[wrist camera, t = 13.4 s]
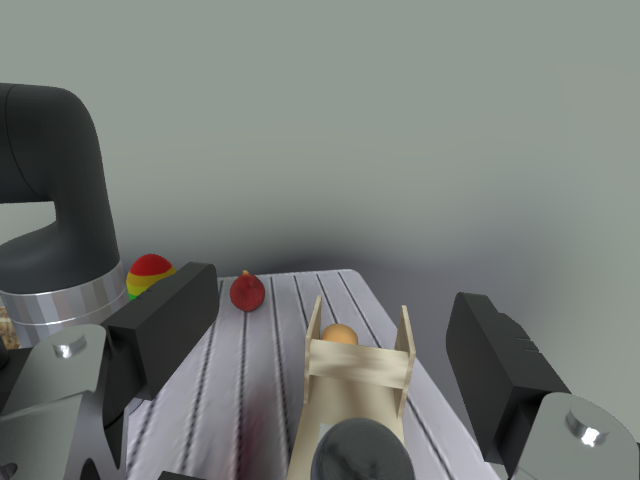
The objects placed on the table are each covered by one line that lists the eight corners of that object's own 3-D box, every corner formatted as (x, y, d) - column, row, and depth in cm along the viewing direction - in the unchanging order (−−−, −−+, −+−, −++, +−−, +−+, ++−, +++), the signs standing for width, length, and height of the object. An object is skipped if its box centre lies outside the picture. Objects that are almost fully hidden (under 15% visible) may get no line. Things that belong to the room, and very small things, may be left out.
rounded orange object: (308, 358, 37) (314, 337, 41) (337, 382, 38) (341, 359, 42) (333, 337, 35) (338, 317, 39) (364, 362, 36) (365, 340, 40)
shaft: (283, 665, 16) (281, 492, 10) (320, 433, 29) (328, 293, 23) (394, 696, 16) (459, 529, 10) (382, 444, 28) (408, 302, 22)
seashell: (84, 329, 46) (69, 285, 43) (49, 376, 38) (28, 325, 35) (-6, 339, 43) (-27, 292, 40) (-65, 392, 35) (-97, 338, 32)
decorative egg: (129, 325, 47) (115, 270, 43) (133, 299, 54) (121, 249, 50) (184, 313, 51) (176, 261, 47) (181, 290, 57) (174, 243, 54)
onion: (267, 301, 55) (266, 263, 52) (262, 321, 50) (260, 279, 47) (235, 301, 55) (232, 262, 52) (227, 320, 49) (223, 278, 46)
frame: (239, 697, 17) (224, 611, 13) (314, 361, 42) (317, 295, 38) (433, 755, 16) (483, 680, 12) (393, 373, 40) (406, 305, 36)
